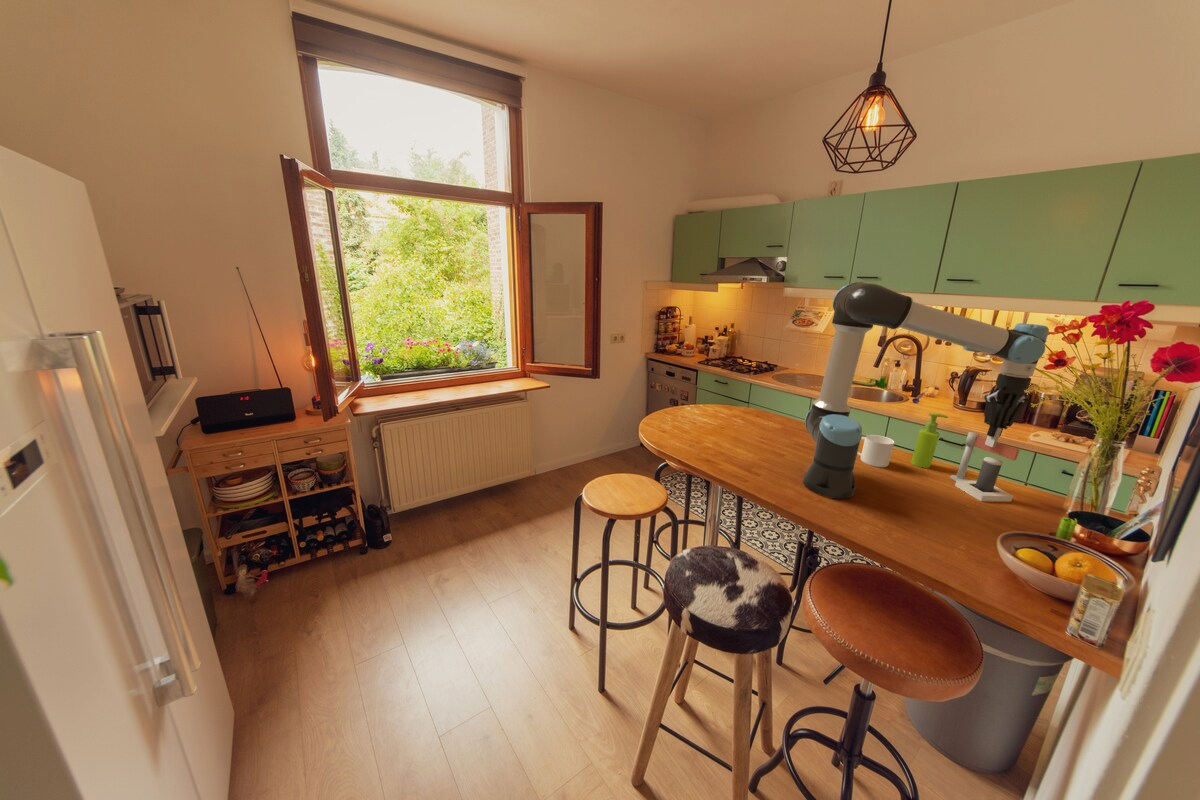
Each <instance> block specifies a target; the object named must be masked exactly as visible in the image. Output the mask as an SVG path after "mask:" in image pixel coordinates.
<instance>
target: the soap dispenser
mask: <svg viewBox="0 0 1200 800" xmlns="http://www.w3.org/2000/svg"><path fill="white" fill-rule="evenodd" d="M928 416H929V417H930V419H929V420H928V421H926V423H925V426H924V428H920V429H919V432H918V436H917V439H916V442H915V446H914V450H913V452H912V453H913V454H912V457H911V461H910V463H911V464H912V465H913V466H916V467H918V468H922V467H923V469H928V468H929V469H930V467H931V466H932V462H933V458H934V455H935V451H936V447H937V446H938V445H937V444H938V442H939V439H940V438H939V437H940V433H939V432H937V429H938V426H939V423H938V422H937V418H945V419H948V418H949V417H948V416H947V415H945V414H941V413H935V412H934V413H933V412H932V413H931V412H930V413H928Z"/></svg>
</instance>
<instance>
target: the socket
mask: <svg viewBox="0 0 1200 800" xmlns="http://www.w3.org/2000/svg"><path fill="white" fill-rule="evenodd" d="M974 448H975V447H974V446H969V445H966V444H965V448H964V450H963V454H962V457H961V460H960V464H959V466H958V471H957V472H956V474H951V475H950V479H951V480H953V481H955V484H954V486H955V487H956V488H958V489H959V488H960V489H959V490H961V491H963V492H964V491H965V494H966V493H967V494H968V495H970V496H971V497H973V498H974V499H976V500H977V501H980V502H1006V503H1008V502H1012V500H1013V498H1014V495H1013V494H1010V493H1008V492H1006V491H1005V490H1003V489H1001V488H999V487H997V486H996V485H995V486H994V488H993V491H992V492H982V491H980V490H979V489H977V488H975V485H976V482H977V480H969V479H968V478H967V477H965V475H966V472H967V470H968V465H969V462H970V460H971V457H972V454H973V450H974Z"/></svg>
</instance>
